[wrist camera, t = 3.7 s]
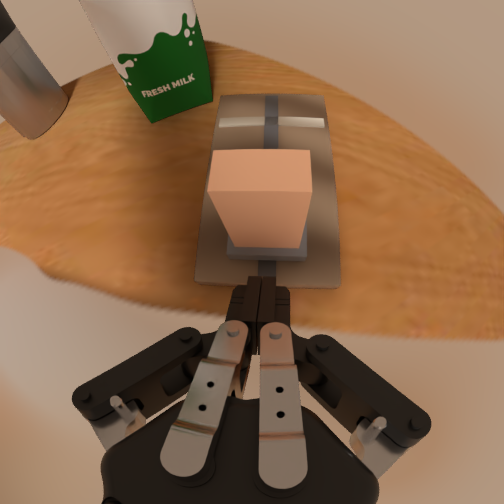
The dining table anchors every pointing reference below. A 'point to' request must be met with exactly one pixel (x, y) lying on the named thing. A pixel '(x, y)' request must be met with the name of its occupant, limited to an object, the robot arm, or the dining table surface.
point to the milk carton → (155, 52)
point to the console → (321, 204)
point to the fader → (263, 201)
